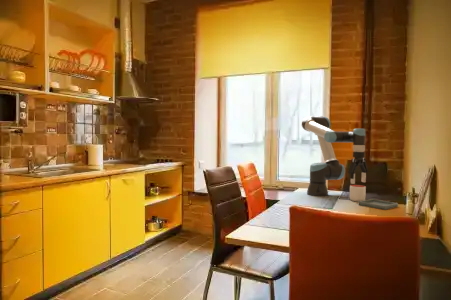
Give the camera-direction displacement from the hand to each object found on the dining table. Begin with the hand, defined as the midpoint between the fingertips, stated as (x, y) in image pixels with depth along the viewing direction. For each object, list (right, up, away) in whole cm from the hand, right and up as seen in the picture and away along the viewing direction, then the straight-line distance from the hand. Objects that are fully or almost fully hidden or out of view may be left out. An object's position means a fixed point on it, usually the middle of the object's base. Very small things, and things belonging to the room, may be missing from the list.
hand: (358, 182), depth 222 cm
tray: (+6, -13, -15) cm, 21 cm away
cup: (0, -12, +1) cm, 12 cm away
